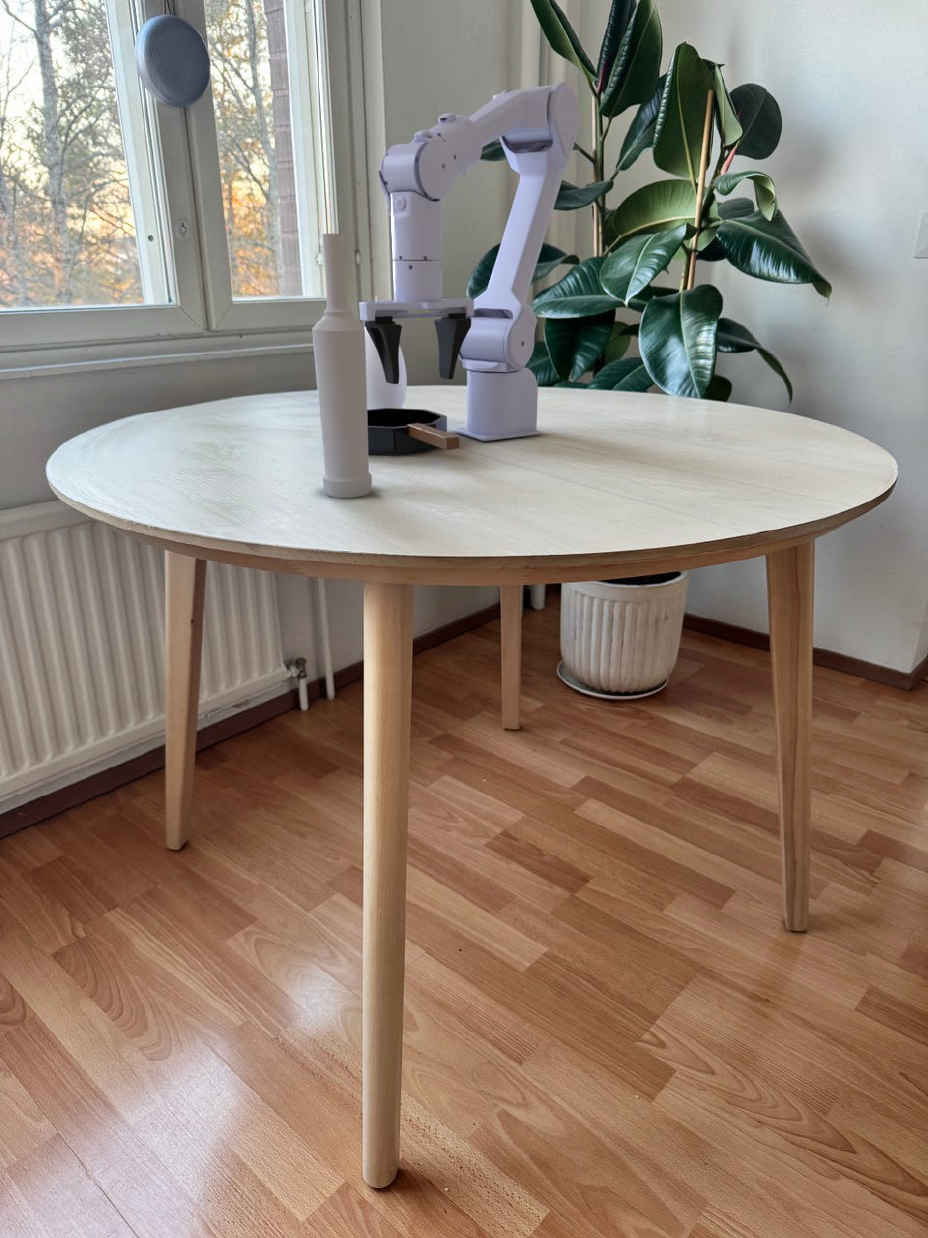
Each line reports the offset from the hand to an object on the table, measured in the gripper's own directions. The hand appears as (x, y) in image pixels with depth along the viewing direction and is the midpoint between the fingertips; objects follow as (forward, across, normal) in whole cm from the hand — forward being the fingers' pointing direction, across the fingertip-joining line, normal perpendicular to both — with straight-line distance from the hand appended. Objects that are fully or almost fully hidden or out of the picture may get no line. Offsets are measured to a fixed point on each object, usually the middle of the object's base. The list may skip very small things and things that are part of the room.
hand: (419, 380), depth 102 cm
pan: (+9, -1, +2) cm, 9 cm away
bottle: (+9, -16, -12) cm, 22 cm away
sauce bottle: (+9, +4, +20) cm, 23 cm away
